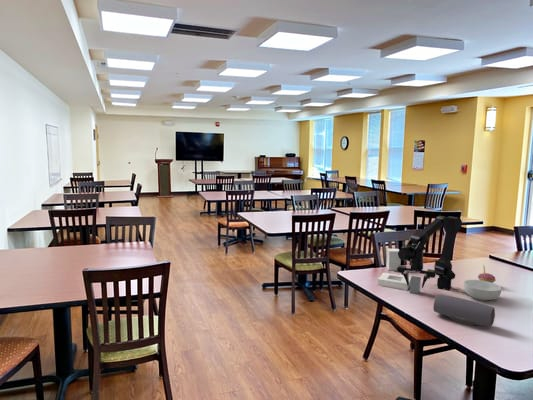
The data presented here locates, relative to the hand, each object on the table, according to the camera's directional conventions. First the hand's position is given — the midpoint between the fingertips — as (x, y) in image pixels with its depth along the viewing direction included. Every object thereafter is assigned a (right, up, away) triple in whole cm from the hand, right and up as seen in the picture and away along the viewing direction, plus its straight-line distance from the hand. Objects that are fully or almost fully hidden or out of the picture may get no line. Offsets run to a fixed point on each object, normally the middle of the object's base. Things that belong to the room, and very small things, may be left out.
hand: (415, 286), depth 206 cm
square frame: (-7, -1, +13) cm, 15 cm away
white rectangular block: (+2, +2, +42) cm, 43 cm away
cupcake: (+44, -2, +12) cm, 46 cm away
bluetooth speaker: (+7, -7, -36) cm, 37 cm away
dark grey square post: (0, -3, 0) cm, 3 cm away
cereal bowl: (+31, -4, -7) cm, 32 cm away
